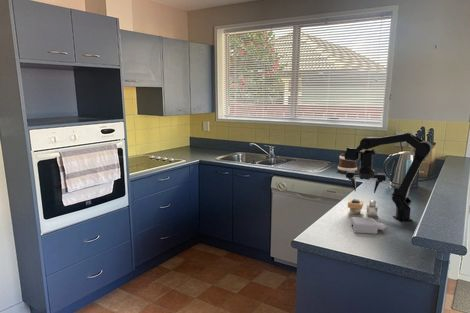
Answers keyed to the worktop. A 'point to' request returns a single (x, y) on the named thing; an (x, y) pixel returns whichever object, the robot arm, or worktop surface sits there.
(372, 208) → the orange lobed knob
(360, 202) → the washer
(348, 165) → the brown layered cake
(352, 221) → the white plastic bottle
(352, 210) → the small brown bottle
